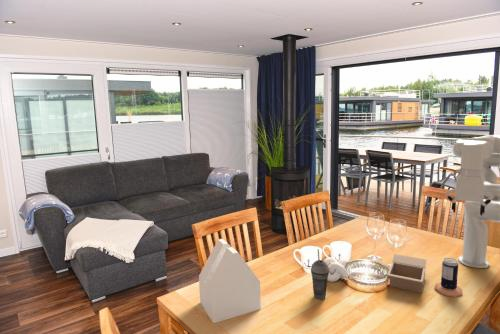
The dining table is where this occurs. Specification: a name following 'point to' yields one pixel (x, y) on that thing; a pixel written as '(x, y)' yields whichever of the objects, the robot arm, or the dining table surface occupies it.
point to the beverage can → (449, 274)
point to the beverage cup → (319, 278)
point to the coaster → (451, 293)
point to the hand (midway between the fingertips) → (467, 213)
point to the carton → (407, 272)
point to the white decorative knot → (336, 269)
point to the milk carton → (228, 284)
